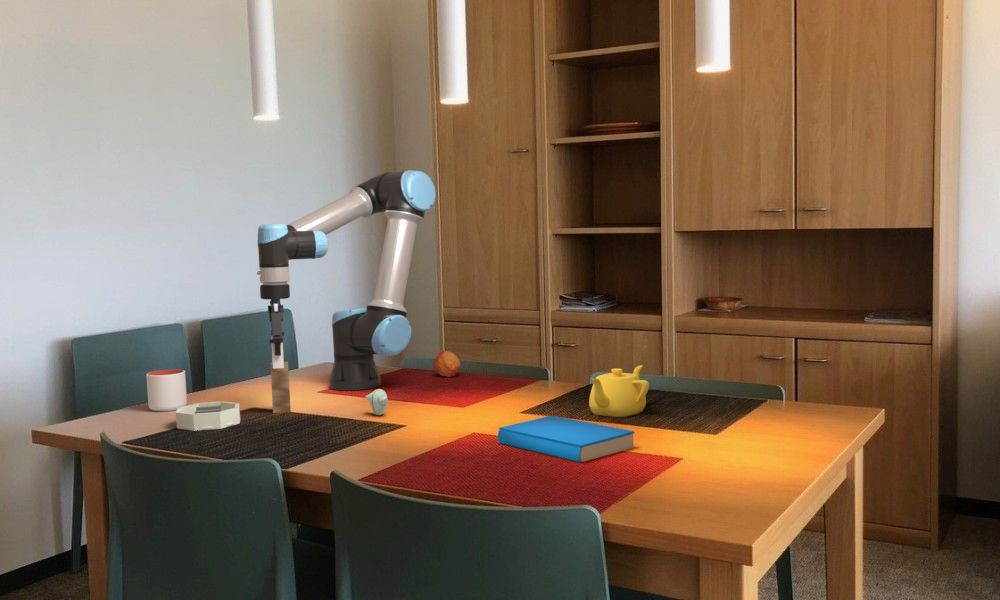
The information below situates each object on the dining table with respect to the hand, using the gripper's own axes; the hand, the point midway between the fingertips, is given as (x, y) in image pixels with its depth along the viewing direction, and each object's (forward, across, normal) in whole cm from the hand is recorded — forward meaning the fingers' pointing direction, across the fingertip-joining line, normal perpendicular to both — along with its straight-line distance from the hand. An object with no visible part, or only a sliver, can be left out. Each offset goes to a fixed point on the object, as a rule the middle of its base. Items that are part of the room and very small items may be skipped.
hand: (278, 364), depth 258 cm
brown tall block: (+13, 0, 0) cm, 13 cm away
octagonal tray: (+13, +8, -18) cm, 23 cm away
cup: (+13, -17, -30) cm, 37 cm away
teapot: (+12, +35, +82) cm, 90 cm away
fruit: (+12, -35, +52) cm, 64 cm away
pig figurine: (+13, +15, +24) cm, 31 cm away
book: (+13, +62, +59) cm, 86 cm away
